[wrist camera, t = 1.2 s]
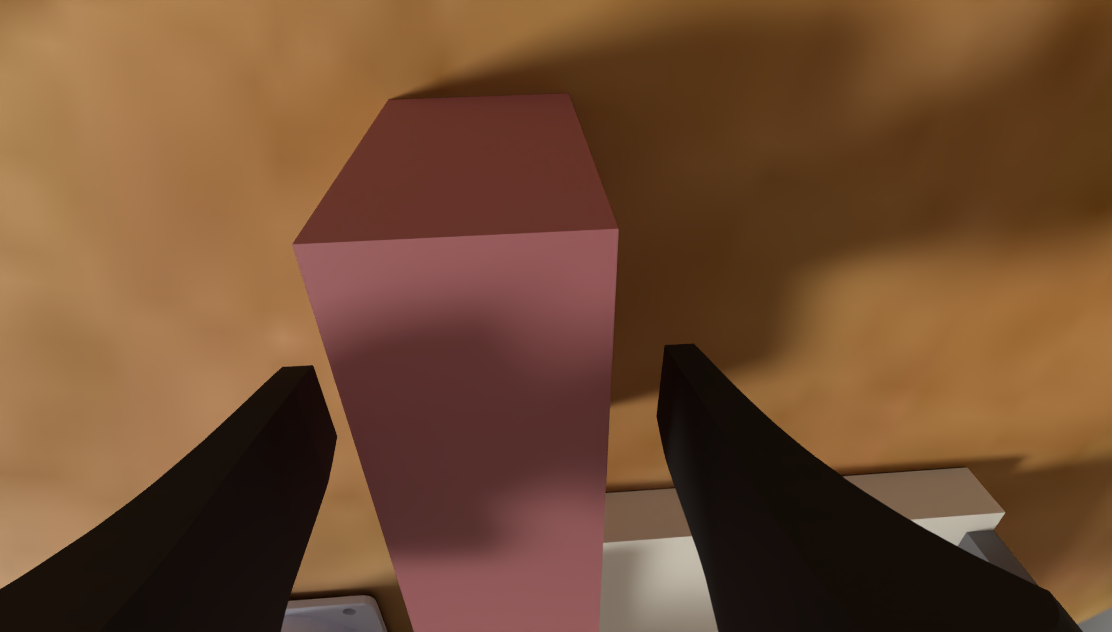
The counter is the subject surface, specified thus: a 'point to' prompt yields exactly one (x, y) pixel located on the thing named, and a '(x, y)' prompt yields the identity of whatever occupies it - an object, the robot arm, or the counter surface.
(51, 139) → the counter surface
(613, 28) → the counter surface
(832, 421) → the counter surface
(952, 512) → the grey open rack
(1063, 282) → the counter surface
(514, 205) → the burgundy book
